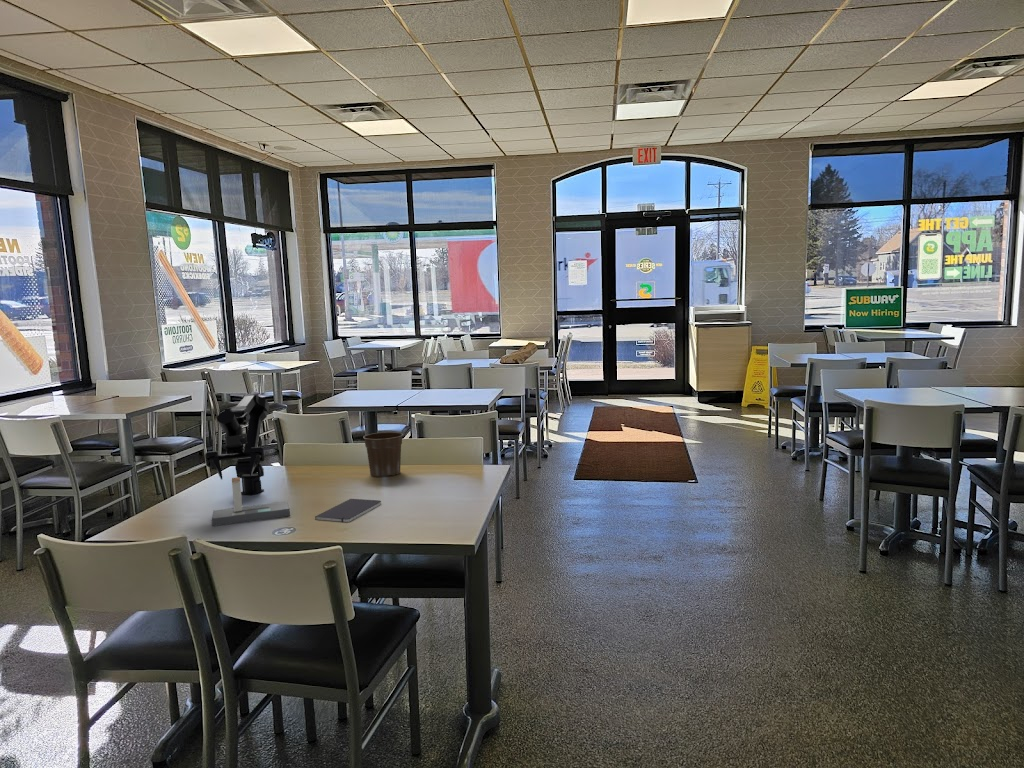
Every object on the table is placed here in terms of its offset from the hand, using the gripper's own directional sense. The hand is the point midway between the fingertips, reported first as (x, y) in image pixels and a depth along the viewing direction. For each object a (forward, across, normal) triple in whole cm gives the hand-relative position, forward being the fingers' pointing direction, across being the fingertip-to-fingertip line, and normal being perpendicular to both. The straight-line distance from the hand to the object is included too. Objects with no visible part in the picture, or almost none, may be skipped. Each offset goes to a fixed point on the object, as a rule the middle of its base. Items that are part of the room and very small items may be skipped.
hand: (236, 477), depth 237 cm
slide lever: (+11, 0, +3) cm, 12 cm away
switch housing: (+13, +4, +5) cm, 15 cm away
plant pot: (-14, +56, +32) cm, 65 cm away
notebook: (+20, +35, -1) cm, 41 cm away
